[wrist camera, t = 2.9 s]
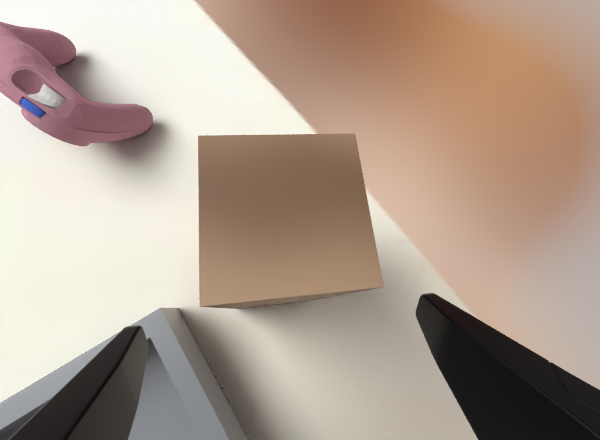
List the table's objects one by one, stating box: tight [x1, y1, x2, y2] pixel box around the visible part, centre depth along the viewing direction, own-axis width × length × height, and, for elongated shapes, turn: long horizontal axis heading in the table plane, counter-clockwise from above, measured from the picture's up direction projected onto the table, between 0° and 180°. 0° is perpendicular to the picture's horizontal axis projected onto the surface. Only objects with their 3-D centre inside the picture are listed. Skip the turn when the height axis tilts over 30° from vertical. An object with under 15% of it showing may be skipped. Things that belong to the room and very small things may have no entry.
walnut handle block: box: [198, 134, 383, 309], centre depth 14 cm, size 4×4×12 cm
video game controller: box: [0, 22, 153, 146], centre depth 18 cm, size 10×5×7 cm, turn 49°
